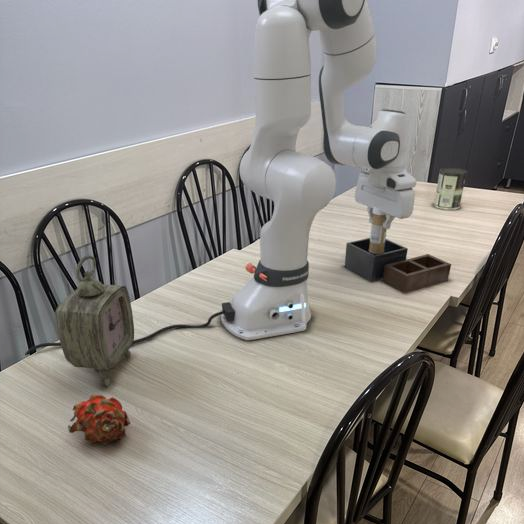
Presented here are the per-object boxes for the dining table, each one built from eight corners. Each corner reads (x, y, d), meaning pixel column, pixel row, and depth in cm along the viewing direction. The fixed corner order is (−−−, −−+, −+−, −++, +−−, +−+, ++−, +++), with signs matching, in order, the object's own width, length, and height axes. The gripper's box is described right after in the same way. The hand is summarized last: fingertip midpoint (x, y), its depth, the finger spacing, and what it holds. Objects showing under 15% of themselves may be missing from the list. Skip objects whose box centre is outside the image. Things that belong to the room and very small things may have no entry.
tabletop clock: (110, 392, 99) (86, 274, 86) (68, 387, 100) (38, 271, 87) (138, 353, 111) (121, 244, 98) (100, 349, 112) (78, 242, 99)
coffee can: (455, 202, 209) (462, 167, 202) (463, 210, 200) (471, 173, 193) (430, 202, 209) (436, 167, 202) (437, 210, 201) (444, 173, 193)
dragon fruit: (126, 460, 85) (84, 440, 92) (149, 414, 88) (106, 398, 95) (91, 444, 79) (48, 424, 86) (117, 395, 81) (73, 379, 88)
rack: (404, 293, 136) (407, 276, 134) (382, 281, 143) (384, 264, 140) (447, 280, 143) (451, 264, 141) (424, 269, 150) (427, 253, 147)
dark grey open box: (371, 281, 143) (374, 256, 139) (344, 266, 152) (346, 242, 148) (403, 273, 148) (407, 248, 144) (376, 259, 157) (378, 235, 153)
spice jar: (387, 252, 147) (393, 206, 139) (375, 256, 144) (381, 209, 137) (376, 248, 150) (381, 202, 143) (364, 251, 148) (369, 205, 140)
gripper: (351, 169, 142) (347, 217, 149) (403, 185, 127) (395, 238, 134) (369, 166, 144) (364, 214, 152) (421, 182, 129) (413, 234, 137)
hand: (379, 225), depth 143 cm, fingers closed on spice jar, 4 cm apart
